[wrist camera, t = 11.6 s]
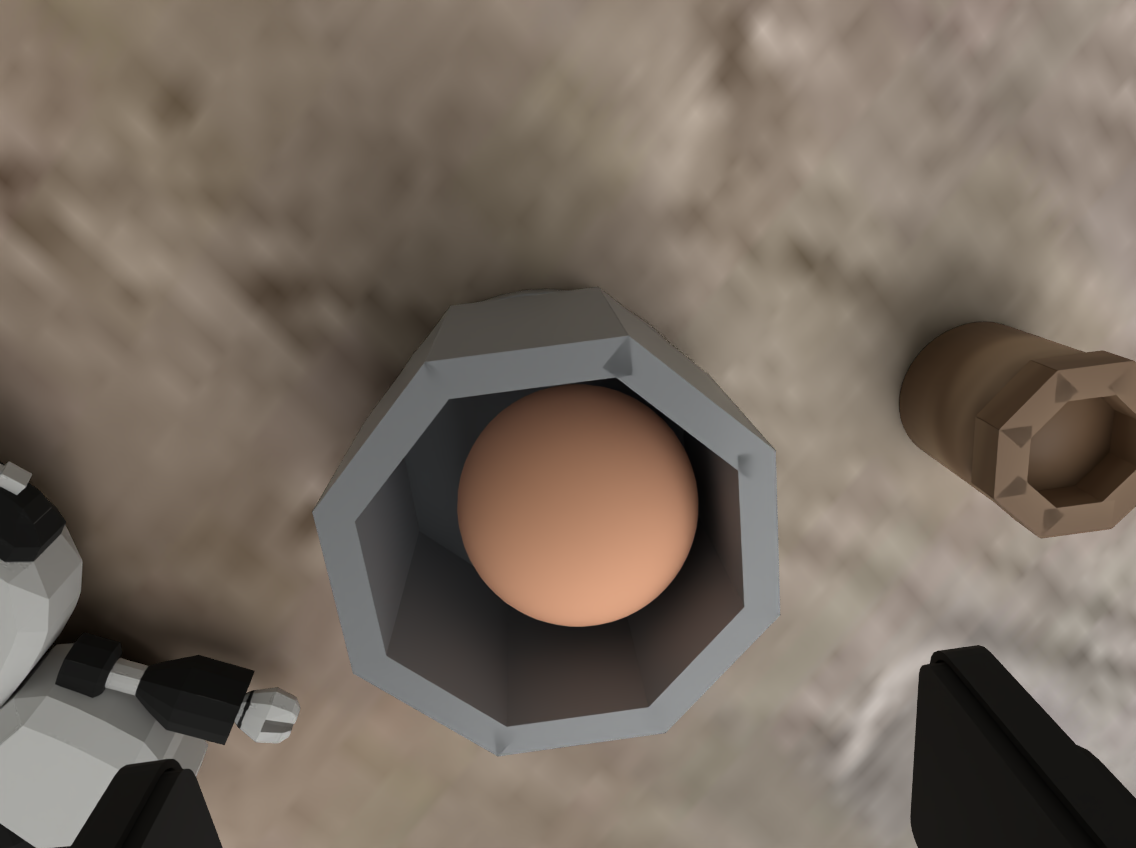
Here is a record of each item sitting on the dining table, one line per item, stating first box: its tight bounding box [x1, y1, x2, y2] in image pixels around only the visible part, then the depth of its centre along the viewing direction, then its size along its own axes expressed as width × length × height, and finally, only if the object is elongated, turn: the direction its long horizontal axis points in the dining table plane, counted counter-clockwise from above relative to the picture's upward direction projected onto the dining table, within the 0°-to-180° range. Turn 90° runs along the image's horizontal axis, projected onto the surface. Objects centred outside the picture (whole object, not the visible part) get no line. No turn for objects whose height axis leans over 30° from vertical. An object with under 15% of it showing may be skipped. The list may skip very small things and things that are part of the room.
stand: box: [899, 322, 1136, 538], centre depth 21 cm, size 4×4×5 cm
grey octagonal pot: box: [312, 287, 781, 756], centre depth 20 cm, size 10×10×7 cm
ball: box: [457, 384, 698, 627], centre depth 19 cm, size 6×6×6 cm
